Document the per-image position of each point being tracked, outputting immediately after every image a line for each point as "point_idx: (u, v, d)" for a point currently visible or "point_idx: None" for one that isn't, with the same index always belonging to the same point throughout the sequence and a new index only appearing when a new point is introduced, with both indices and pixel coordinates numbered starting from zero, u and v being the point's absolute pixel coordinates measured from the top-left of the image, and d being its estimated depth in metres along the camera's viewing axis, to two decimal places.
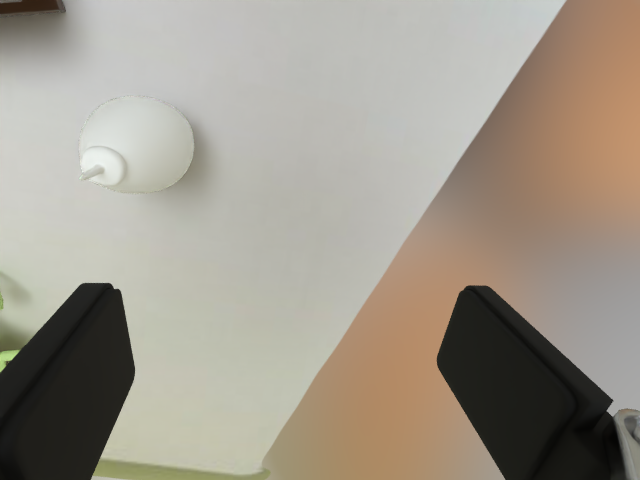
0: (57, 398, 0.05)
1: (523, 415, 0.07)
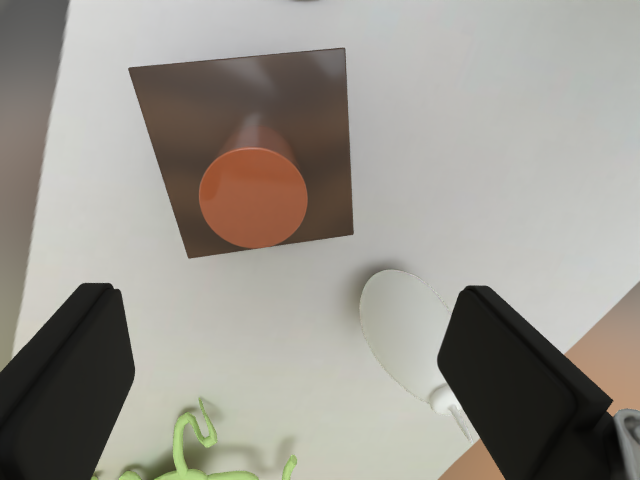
0: (57, 398, 0.05)
1: (523, 415, 0.07)
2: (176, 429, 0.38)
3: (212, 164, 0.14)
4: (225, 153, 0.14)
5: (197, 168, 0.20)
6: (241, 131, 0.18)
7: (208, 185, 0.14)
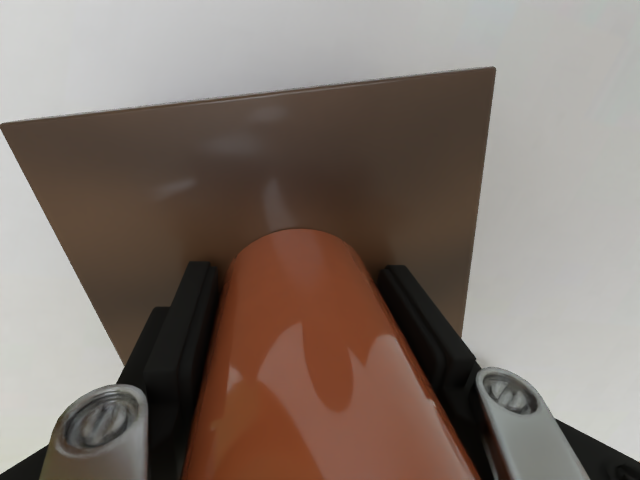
0: (200, 346, 0.07)
1: None
2: None
3: None
4: None
5: None
6: (271, 264, 0.08)
7: None
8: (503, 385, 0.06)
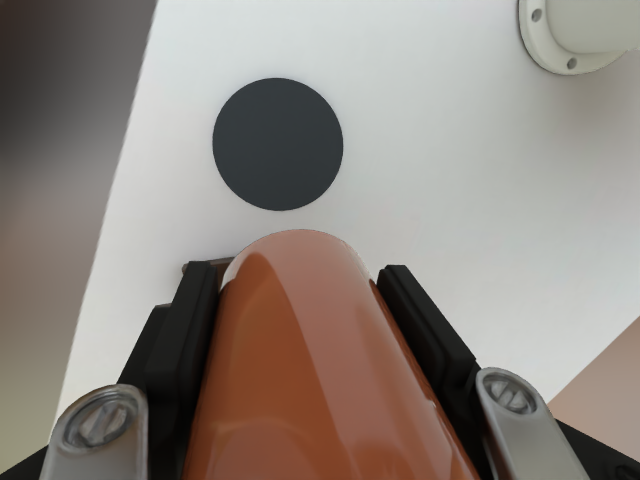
0: (200, 346, 0.07)
1: None
2: None
3: None
4: None
5: None
6: (271, 265, 0.08)
7: None
8: (503, 385, 0.06)
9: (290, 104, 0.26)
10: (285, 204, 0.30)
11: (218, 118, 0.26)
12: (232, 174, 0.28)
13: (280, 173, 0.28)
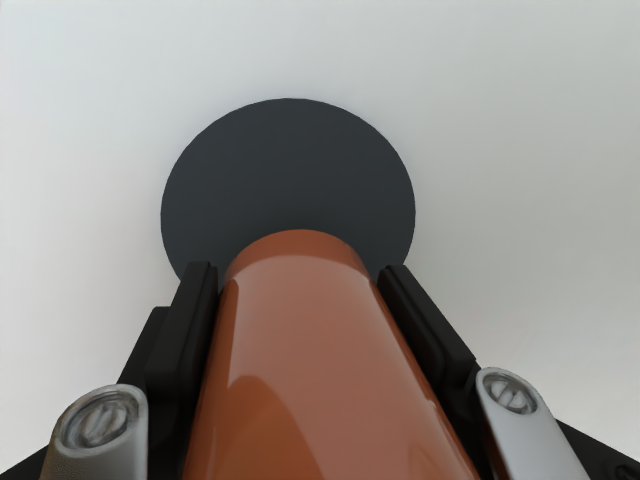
0: (200, 346, 0.07)
1: None
2: None
3: None
4: None
5: None
6: (271, 265, 0.08)
7: None
8: (503, 385, 0.06)
9: (318, 152, 0.13)
10: None
11: (169, 182, 0.12)
12: None
13: None
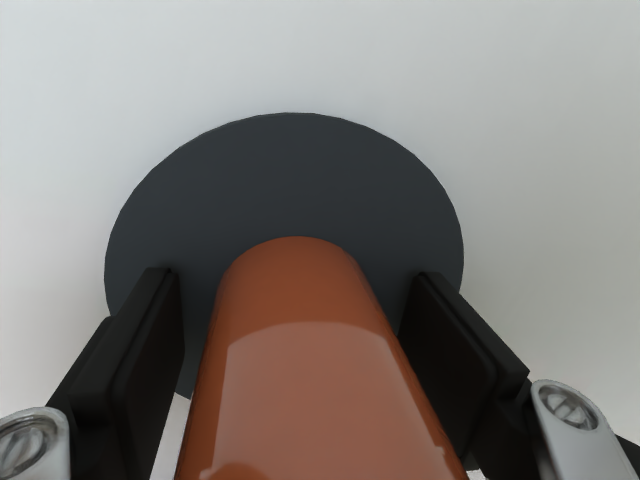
0: (145, 361, 0.06)
1: (457, 389, 0.07)
2: None
3: None
4: None
5: None
6: (265, 275, 0.07)
7: None
8: (561, 398, 0.06)
9: (332, 190, 0.09)
10: None
11: (113, 237, 0.08)
12: None
13: None
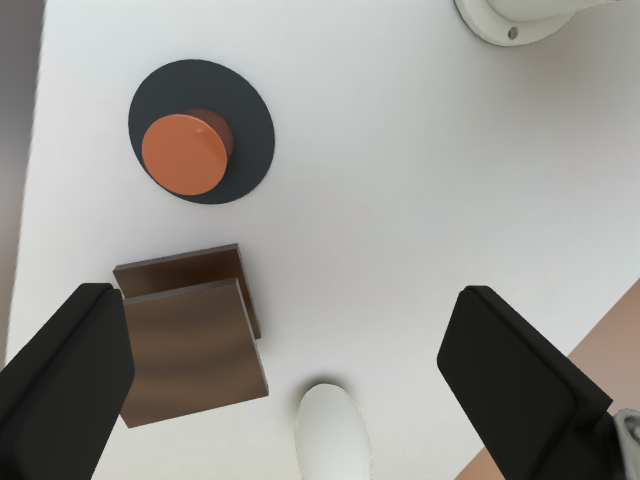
0: (57, 398, 0.05)
1: (523, 415, 0.07)
2: None
3: (149, 128, 0.19)
4: (158, 120, 0.19)
5: None
6: None
7: (148, 145, 0.19)
8: None
9: (210, 88, 0.24)
10: (218, 196, 0.28)
11: (131, 105, 0.24)
12: None
13: None
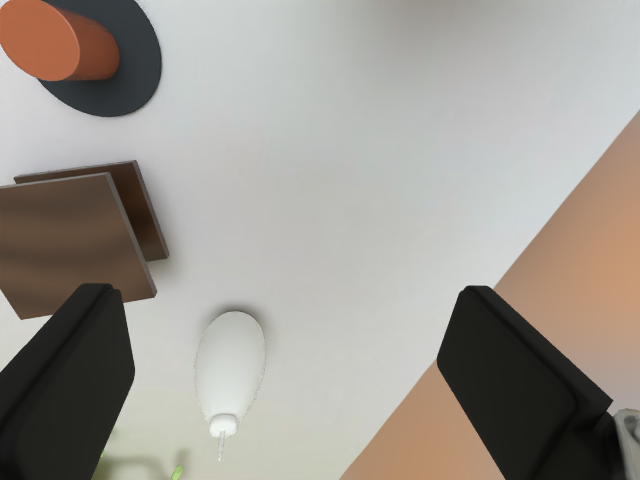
0: (57, 398, 0.05)
1: (523, 415, 0.07)
2: None
3: (1, 9, 0.21)
4: (8, 1, 0.21)
5: (10, 258, 0.27)
6: None
7: (1, 26, 0.21)
8: None
9: None
10: (110, 109, 0.30)
11: None
12: None
13: None
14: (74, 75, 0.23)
